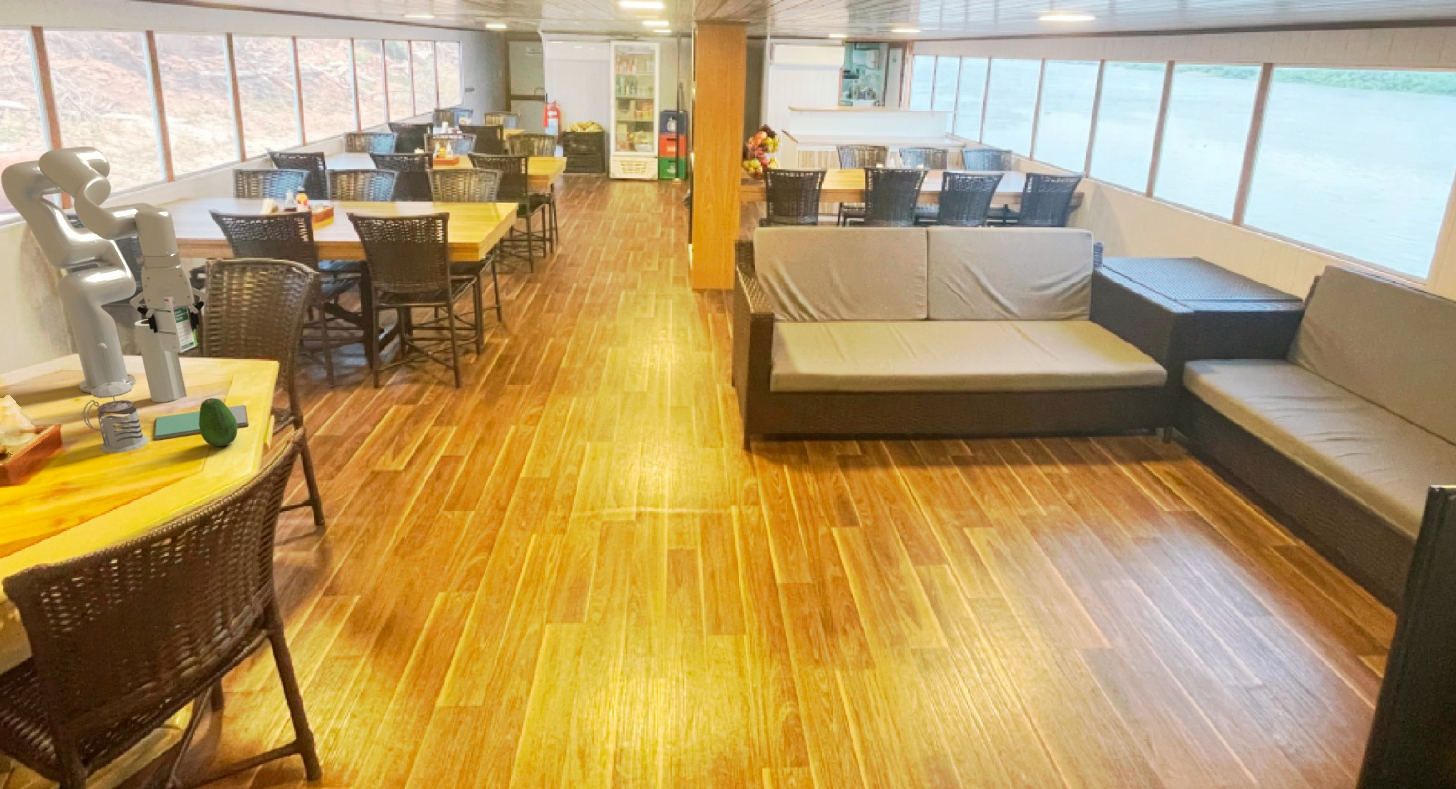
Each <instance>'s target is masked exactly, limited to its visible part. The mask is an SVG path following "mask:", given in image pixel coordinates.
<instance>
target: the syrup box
mask: <svg viewBox="0 0 1456 789" xmlns="http://www.w3.org/2000/svg"><path fill="white" fill-rule="evenodd" d="M164 300H165V306H166V308H164V309H155V311H154V312H153V314H154V317H155V322H156V326H157V331H158V335H159V340H160V344H161V349H162V350H163V351H168V352H176V353H178V354H182V353H184V352H186V351H188V350H191V349H193V348H196V347H198V340H197V336H196V331H195V330H196V329H194V327H193V322H192V317H191V312H192V311H191V310H190V309H189V308H188V307H187V306H185V307H176V304H175V300H174V297H173V296H164Z"/></svg>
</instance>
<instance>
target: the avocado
mask: <svg viewBox="0 0 1456 789" xmlns="http://www.w3.org/2000/svg"><path fill="white" fill-rule="evenodd" d="M228 407H229V406H227V405H226V404H225V403H224V401H222V400H221V399H220V398H212V397H211V398H210V397H209V398H207V399H205V400H204V401H203V402H202V403H201V404H200V407H199V411H200V416H199V427H200V434H199V435H201V437H202V438H203V440H204V441H205V442H206V443H207V444H209V445H210V446H214V447H224V446H229V445H230V444H231V443H232V442H234V441H235V440H236V438H237V435H238V428H237V422H236V419H235V417H234V415H233V414H232V412H231V411H230V410H229V409H228Z"/></svg>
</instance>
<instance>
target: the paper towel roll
mask: <svg viewBox="0 0 1456 789" xmlns="http://www.w3.org/2000/svg"><path fill="white" fill-rule="evenodd" d="M134 328H135V332H136V336H137V340H138V345H139V349H140V350H139V351H140V355H141V359H142V362H143V368H144V373H145V377H146V381H147V384H148V390H149V395H150V399H151V401H152V402H154V403H167V402H171V401H176V400H178V399H181V398H182V399H183V398H187V397H188V396H187V391H186V386H185V381H184V377H183V372H182V368H181V362H180V357H179V353H176V352H168V351H163V350H162V349H161V344H160V340H159V335H158V331H157V333H154V331H153V329H150V326H149V322H148V318H146V319H140V320H138V321H137V320H136V322H134Z"/></svg>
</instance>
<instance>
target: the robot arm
mask: <svg viewBox="0 0 1456 789" xmlns="http://www.w3.org/2000/svg"><path fill="white" fill-rule="evenodd" d="M110 171H111V166H110V163H109V161H108V158H107V157H106V155H105V154H104V153H103V152H102V151H100V150H99V149H97V148H95V147H93V146H76V147H75V146H74V147H65V148H56V149H51V150H48V151H46V152H45V153H42V155H41V156H40V157H39V160H30V161H23V162H17V163H13V164H10V165H9V166H6V167H5V168H4V169H3V170H2V173H1V176H0V181H1V187H2V190H3V192H4V195H5V197H6V199H7V200H8V201H9V203H10V204H11V206H12V207H13V208H14V209H15V210H16V211H17V212H18V214H19V215H20V216H21V218H23V220H24V221H25V222H26V224H27V225H28V227H29V229H30V230H31V232H32V234H33V236H34V238H35V240H36V241H37V243H38V245H39V246H40V249H41V251H42V252H43V254H44V257H46V259H47V261H48V263H50V265H51V266H52V267H53V268H55V269H59V270H65V269H66V270H68V269H75V268H79V267H83V266H89V265H94V264H96V265H97V267H93V268H88V269H81V270H78V271H73V272H70V273H67V274H65V275H64V276H62V277H61V278H60V279H59V280H58V282H57V285H56V288H57V294H58V295H59V297H60V300H61V302H62V304H63V306H64V309H65V310H66V313H67V316H68V318H69V319H68V320H69V322H70V326H71V330H72V333H73V338H74V342H75V344H76V350H77V352H78V353H77V354H78V356H79V361H80V365H81V368H82V371H83V372H82V373H83V376H84V380H83V381H82V382H81V383H79V388H80V389H79V390H80V391H81V392H84V393H88V394H91V392H92V391H93V390H94V389H95V388H97V387H98V386H100V385H102V384H105V383H109V378H110V382H124V383H127V384H130V385H132V386H133V385H135V382H136V377H135V375H133V374H130V373H127V369H126V363H125V361H124V359H125V358H124V356H123V352H122V348H121V347H122V346H121V343H120V339H119V335H118V330H117V325H116V322H115V320H114V318H113V317H112V315H111V314H109V313H108V312H107V311H105V310H104V309H103V307H102V306H104V305H107V304H111V303H114V302H118V301H122V300H127V299H129V298H130V297H132V296H134V295H135V293H136V291H137V282H136V280H135V277H134V274H133V273H132V271H131V268H130V267H129V265H128V263H127V261H126V259H125V257H124V256H123V254H122V251H121V250H120V248H119V246H118V244H117V242H116V240H117V241H118V240H123V239H128V238H133V237H138V240H139V245H140V250H141V254H142V255H141V256H139V257H135V260H136V263H137V264H142V265H143V266H142V267H141V274H140V276H141V277H140V278H141V285H142V291H141V292H140V293H138V294H137V295H135V297H133V298H132V299H130V301H129V304H130V306H132V307H133V308H134V309H135V310H136V311H137V312H138V313H140V314H142V315H143V316H145V317H146V319H148V322H149V326H150V329H153V331H154V333H157V326H156V322H155V317H154V313H153V312H154V311H155V309H164V308H166V306H165V300H164V296H173V297H174V300H175V304H176V307H185V306H187V307H188V308H189V309H190V310H191V317H192V322H193V327H194V330H197V329H198V326H199V325H200V324H201V322H200V319H199V311H201V309H202V308H203V307H204V306H205V304H206V302H207V301H208V299H209V294H208V293H207V292H204V291H202V290H200V289H197V288H195V287H193V286H192V284H191V280H190V277H189V274H188V270H187V268H186V265H185V264H184V263H183V262H181V257H180V253H179V248H178V242H177V237H176V231H175V226H174V221H173V217H172V213H171V212H170V211H169V210H168V209H166V208H163V207H156V206H154V205H152V204H149V203H147V202H137V203H132V204H123V205H116V206H111V207H110V206H109V207H105V208H104V207H101V205H103V203H104V202H106V200H107V199H108V198H109V196H110V194H111V190H112V186H111V183H110V180H109V179H108V176H109V174H110ZM61 193H63V194H64V193H66V194H67V195H69V196H70V197H71V198H73V199H74V202H73V207H74V210H75V213H76V217H78V218H77V219H78V220H79V222H80V223H81V224H82V225H83V226H84V227H80V228H79V227H78V228H76V227H74V226H73V225H72V223H71V221H70V220H69V218H68V216H67V214H66V213H65V211H64V210H63V209H62V208H61V207H60V206H58V205H56V203H54V202H52V201H50V200H49V199H46V198H45V197H43V196H48V195H53V194H55V195H56V194H61ZM194 295H195V296H197V297H199V298H200V299H199V301H198V302H197V303H194V302H195V300H194V299H195V298H194ZM143 299H144V303H145V305H146V307H144V306H143V305H141V303H140V302H141V301H143ZM100 343H104V344H105V345H106V346H107V348H106V349H103V353H104V357H105V362H106V366H107V370H108V374H109V378H108V374H107V370H106V366H105V362H104V358H103V353H102V349H101V350H99V349H97V345H98V344H100Z"/></svg>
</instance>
